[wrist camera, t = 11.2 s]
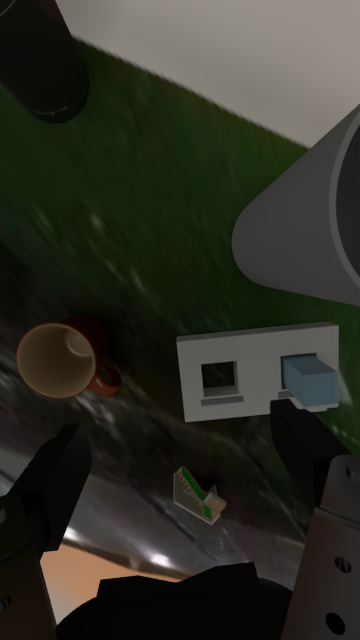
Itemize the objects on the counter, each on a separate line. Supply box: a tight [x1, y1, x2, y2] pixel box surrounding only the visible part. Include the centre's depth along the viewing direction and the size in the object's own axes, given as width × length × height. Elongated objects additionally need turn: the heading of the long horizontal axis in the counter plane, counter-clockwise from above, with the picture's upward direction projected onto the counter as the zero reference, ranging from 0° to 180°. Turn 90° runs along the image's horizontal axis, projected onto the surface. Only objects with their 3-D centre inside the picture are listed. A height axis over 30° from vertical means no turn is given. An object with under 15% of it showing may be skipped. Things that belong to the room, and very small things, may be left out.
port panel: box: [177, 321, 339, 422], centre depth 39 cm, size 12×22×3 cm, turn 96°
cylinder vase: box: [232, 104, 360, 306], centre depth 25 cm, size 12×12×25 cm
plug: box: [280, 353, 338, 412], centre depth 37 cm, size 5×4×9 cm
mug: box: [16, 316, 121, 398], centre depth 35 cm, size 12×9×10 cm
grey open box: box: [173, 466, 226, 525], centre depth 41 cm, size 4×7×8 cm, turn 55°
